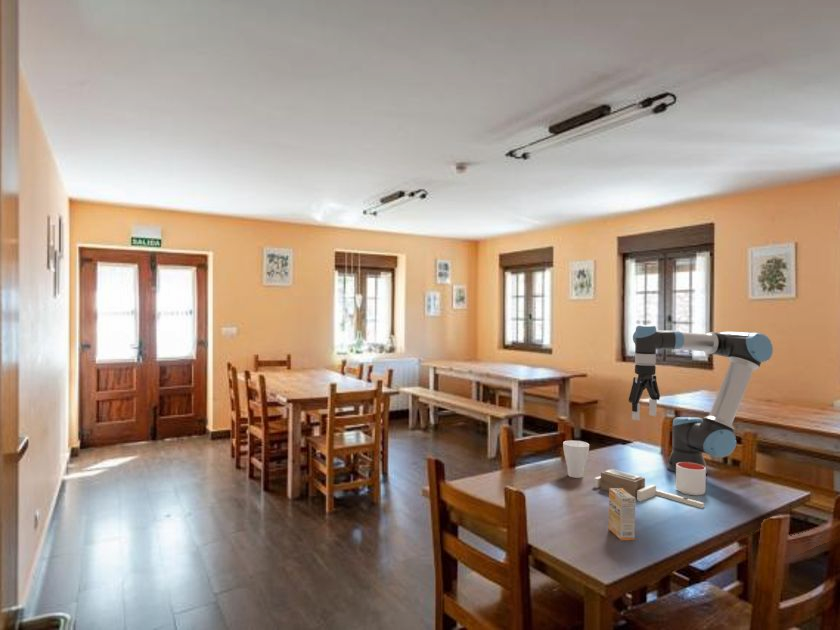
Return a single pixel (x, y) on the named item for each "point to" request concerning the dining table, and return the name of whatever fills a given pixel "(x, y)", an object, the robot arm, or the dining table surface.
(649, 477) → the dining table surface
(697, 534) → the dining table surface
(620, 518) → the supplement box
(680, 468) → the cup
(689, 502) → the notch rail
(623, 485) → the wooden block
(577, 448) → the cup
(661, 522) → the dining table surface
